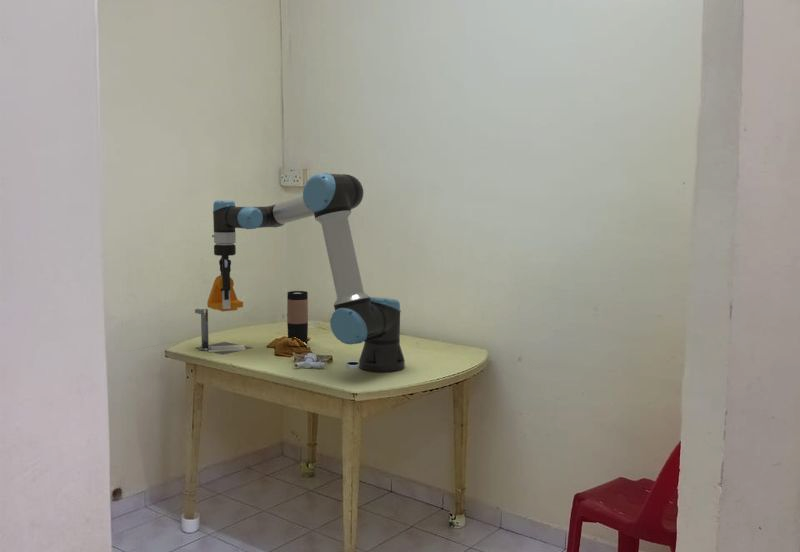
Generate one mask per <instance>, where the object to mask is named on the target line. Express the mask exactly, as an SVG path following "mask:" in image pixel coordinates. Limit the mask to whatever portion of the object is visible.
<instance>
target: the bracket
mask: <svg viewBox="0 0 800 552" xmlns="http://www.w3.org/2000/svg"><path fill="white" fill-rule="evenodd" d="M234 285H235V283H234V280H233V278H232V277H230V287H231V288H230V308H231V309H223V305H222V291H221V288H223V282H222V275H221V274H220V275H218V276H216V277H215V279H214V282H213V284H212V288H211V290H210V294H209V296H208V299H207V306H206V307H207V308H208V309H209V308H210V309H212V310H215V311H220V312H233V311H238V309H239V308H240V309H241V308H244V301H242V300H239V299H238V297H237V294H236V292H235V290H234Z"/></svg>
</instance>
